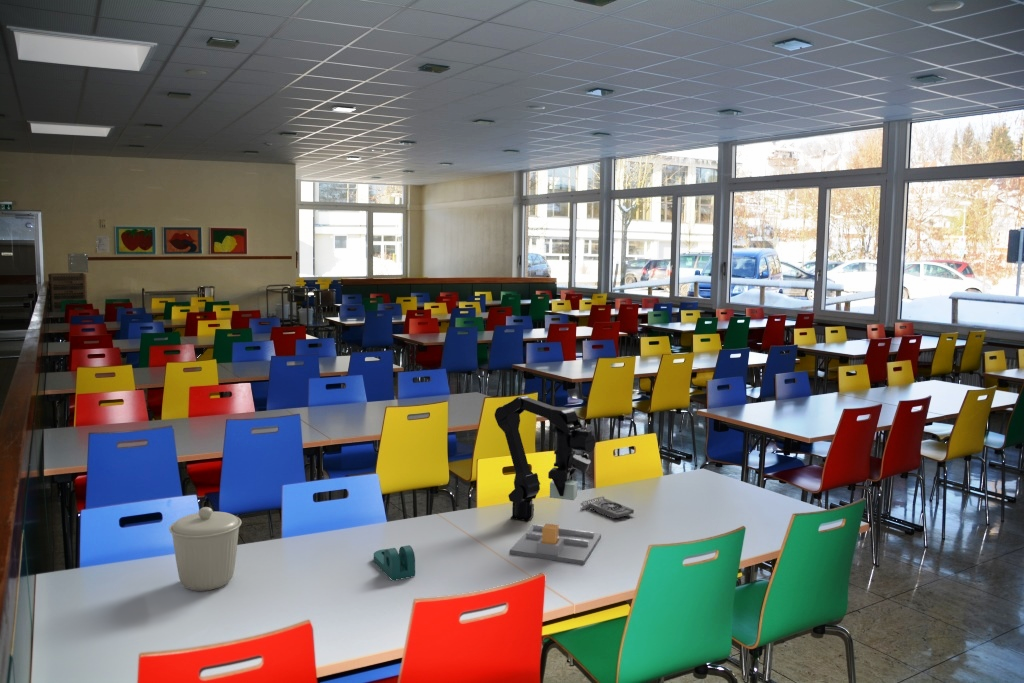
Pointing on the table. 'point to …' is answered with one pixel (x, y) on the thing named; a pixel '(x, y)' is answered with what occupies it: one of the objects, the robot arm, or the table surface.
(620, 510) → the graphics card
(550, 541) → the button
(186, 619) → the table surface
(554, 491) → the block
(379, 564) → the bracket
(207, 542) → the canister
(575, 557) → the rail board
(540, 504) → the table surface
